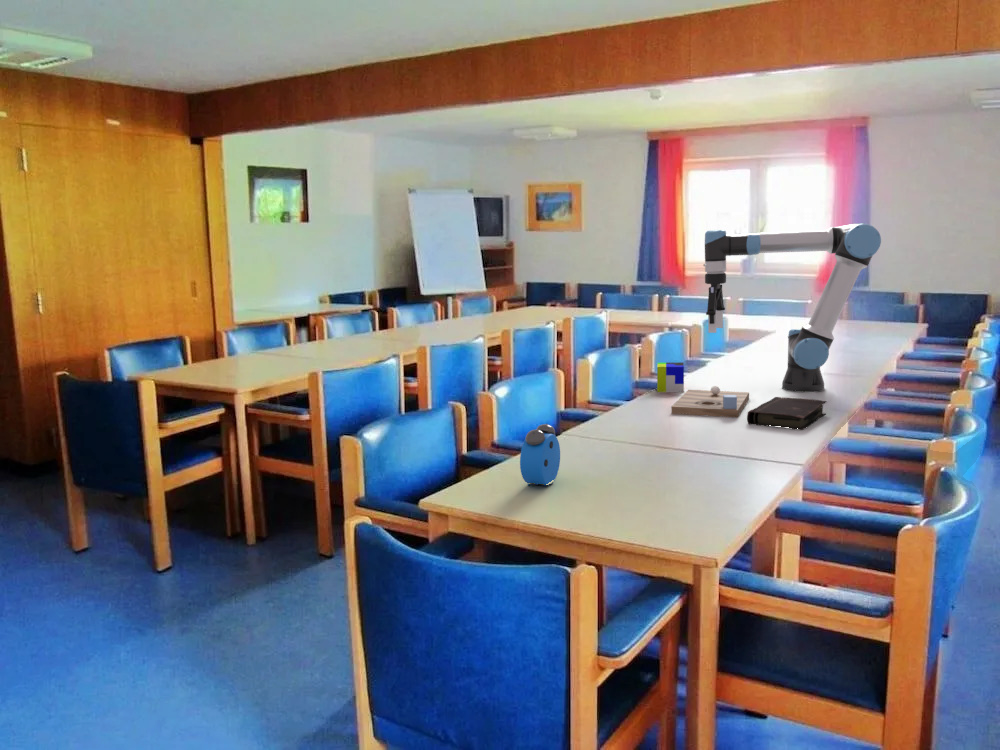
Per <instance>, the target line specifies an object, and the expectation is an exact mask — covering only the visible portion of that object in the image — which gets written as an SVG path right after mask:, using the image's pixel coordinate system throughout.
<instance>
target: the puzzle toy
mask: <svg viewBox="0 0 1000 750" xmlns="http://www.w3.org/2000/svg"><path fill="white" fill-rule="evenodd" d="M656 368H657V369H656V370H657V371H656V375H657V376H656V377H657V378H656V380H657V381H656V382H657V383H656V384H657V385H656V387H657V388H656V390H657V391H656V392H657V393H685V391H684V390H685V389H684V388H685V387H684V386H685V383H684V382H685V378H684V377H685V375H684V373H685V363H684V362H657V367H656Z"/></svg>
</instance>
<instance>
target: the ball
mask: <svg viewBox="0 0 1000 750" xmlns="http://www.w3.org/2000/svg"><path fill="white" fill-rule="evenodd" d="M710 391H711V393H712V394H714V395H717V394H719V392H720V391H721V389H720V387H719V386H717V385H714V386H712V387H711V389H710Z"/></svg>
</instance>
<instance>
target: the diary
mask: <svg viewBox="0 0 1000 750" xmlns="http://www.w3.org/2000/svg"><path fill="white" fill-rule="evenodd" d="M826 403H828V401H827V400H819V399H813V398H812V399H811V398H810V399H809V398H800V397H780V396H775V397H773V398H771V399H770V400H768V401H765V402H764V403H762V404H760V405H758V406H756V407H755V408H753V409H751V410H748V412H747V413H746V415H747V416H746V420H747V421H746V422H747V424H748V425H752V424H756V425H755V426H761V425H764V426H763V427H769V425H771V426H781V427H789V428H792V429H791V430H795V429H797V428H798V429H803V430H805V429H807V428H808V427H809V426H811V425H812V424H814V423H815V422H818V420H819V419H820V418H822V417H824V416H826V415H827V413H824V412H823V411H824V410H823V408H824V404H826ZM766 425H768V426H766ZM806 427H807V428H806Z"/></svg>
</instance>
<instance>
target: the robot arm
mask: <svg viewBox="0 0 1000 750" xmlns="http://www.w3.org/2000/svg"><path fill="white" fill-rule="evenodd" d="M881 243H882V238H881V234H880V232H879V230H878V229H877V228H876V227H874V226H873V225H872V224H871V225H870V224H869V223H865V222H860V223H851V224H847V225H840V226H831V227H829V228H828V229H825V230H819V229H818V230H803V231H802V230H801V231H799V230H798V231H797V230H796V231H795V230H794V231H777V232H775V231H774V232H773V231H772V232H756V233H753V232H751V233H748V232H747V233H744V232H741V233H740V232H739V233H736V234H727V231H726V230H725V229H717V230H715V229H714V230H711V229H710V230H707V231H706V232H705V234H704V264H703V267H704V272H705V275H704V283H705V284H707V285H710V287H708V299H707V311H706V312H705V315H706V316H708V319H707V322H708V323H707V324H708V325H707V326H708V330H707V331H708V334H711V333H712V334H714V333H715V334H716V333H717V329H723V328H724V313H723V312H724V311H726V307H725V305H724V296H723V284H726V283H727V274H726V271H727V257H728V256H729V257H731V256H754V255H759V254H772V253H800V252H801V253H804V252H806V253H807V252H827V253H829V254H831V255H832V254H834V257H835V260H836V262H835V265H834V266H833V268H832V271H831V273H830V275H829V278H828V279H827V282H826V284H825V286H824V288H823V291H822V293H821V294H820V298H819V300H818V301H817V304H816V306H815V309H814V311H813V313H812V315H811V318H810V319H809V322H808V324H805V325H803V326H802V327H801V328H800V329H799V328H798V329H797V328H794V329H793V328H791V329H790V330H788V335H787V339H788V340H787V341H788V343H787V344H788V346H787V369H786V371H785V374H784V377H783V380H782V384H781V389H783V390H786V391H789V392H796V393H800V392H801V393H814V392H816V393H817V392H821V391H822V392H823V391H824V390H825V380H824V378H823V375H822V372H821V367H822V366H823V365H825V363H826V362H827V361H828V358H829V355H830V353H829V352H830V348H831V346H832V344H833V341H834V339H835V338H834V335H833V331H834V329H835V327H836V325H837V322H838V321H839V318H840V316H841V314H842V312H843V309H844V307H845V306H846V303H847V300H848V298H849V296H850V295H851V292H852V291H853V287H854V285H855V283H856V282H857V279H858V277H859V275H860V273H861V271H862V270H863V269H866V268H868V267H869V264H870V262H871V260H872V258H873V256H874V255H875V254H876V253H878V251H879V249H880V248H881Z"/></svg>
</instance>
